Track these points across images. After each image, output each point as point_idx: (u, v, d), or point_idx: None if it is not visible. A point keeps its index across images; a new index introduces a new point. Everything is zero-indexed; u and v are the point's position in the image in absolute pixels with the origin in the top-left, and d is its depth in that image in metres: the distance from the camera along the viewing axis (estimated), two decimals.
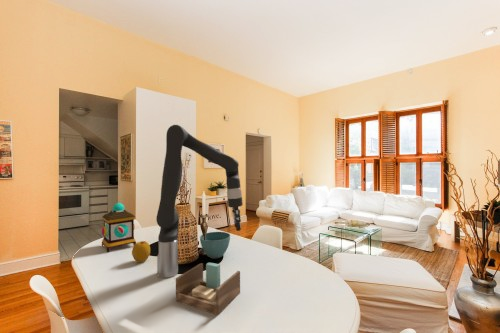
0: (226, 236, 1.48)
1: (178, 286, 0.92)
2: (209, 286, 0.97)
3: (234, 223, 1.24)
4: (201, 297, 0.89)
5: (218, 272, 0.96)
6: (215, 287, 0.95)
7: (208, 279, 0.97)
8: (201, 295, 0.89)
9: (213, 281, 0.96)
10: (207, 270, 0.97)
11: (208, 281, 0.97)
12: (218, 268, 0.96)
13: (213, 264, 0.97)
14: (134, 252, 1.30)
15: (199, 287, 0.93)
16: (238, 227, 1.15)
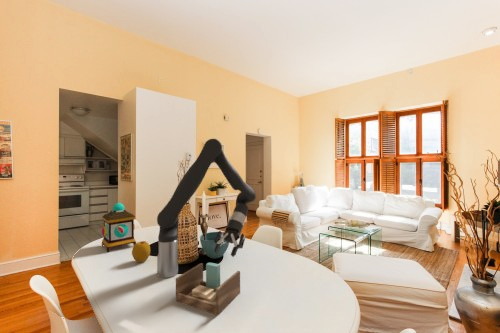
0: None
1: (178, 286, 0.92)
2: (209, 286, 0.97)
3: (217, 247, 1.07)
4: (201, 297, 0.89)
5: (218, 272, 0.96)
6: (215, 287, 0.95)
7: (208, 279, 0.97)
8: (201, 295, 0.89)
9: (213, 281, 0.96)
10: (207, 270, 0.97)
11: (208, 281, 0.97)
12: (218, 268, 0.96)
13: (213, 264, 0.97)
14: (134, 252, 1.30)
15: (199, 287, 0.93)
16: (235, 252, 1.04)
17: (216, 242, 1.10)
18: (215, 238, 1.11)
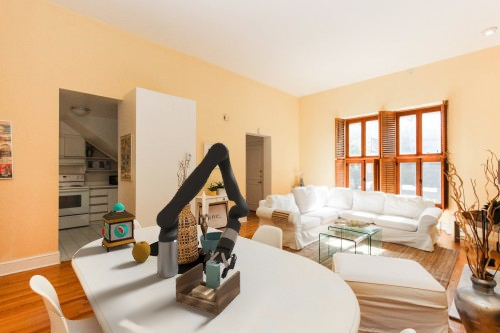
0: None
1: (178, 286, 0.92)
2: (209, 286, 0.97)
3: None
4: (201, 297, 0.89)
5: (218, 272, 0.96)
6: (215, 287, 0.95)
7: (208, 279, 0.97)
8: (201, 295, 0.89)
9: (213, 281, 0.96)
10: (207, 270, 0.97)
11: (208, 281, 0.97)
12: (218, 268, 0.96)
13: (213, 264, 0.97)
14: (134, 252, 1.30)
15: (199, 287, 0.93)
16: (225, 274, 0.96)
17: (206, 262, 1.03)
18: (205, 257, 1.04)
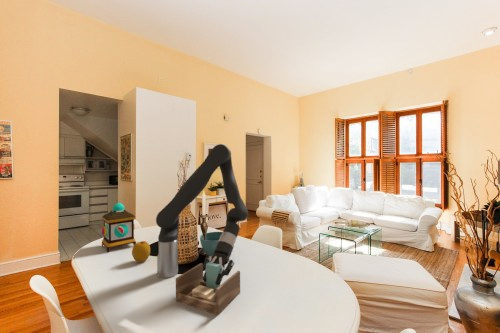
0: None
1: (178, 286, 0.92)
2: (209, 286, 0.97)
3: None
4: (201, 297, 0.89)
5: (218, 272, 0.96)
6: (215, 287, 0.95)
7: (208, 279, 0.97)
8: (201, 295, 0.89)
9: (213, 281, 0.96)
10: (207, 270, 0.97)
11: (208, 281, 0.97)
12: (218, 268, 0.96)
13: (213, 264, 0.97)
14: (134, 252, 1.30)
15: (199, 287, 0.93)
16: (220, 280, 0.95)
17: (205, 268, 1.00)
18: None
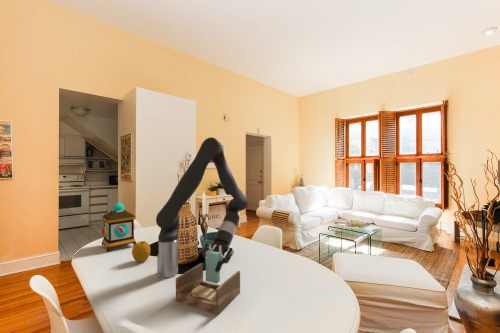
0: None
1: (178, 286, 0.92)
2: (208, 274, 0.97)
3: (205, 262, 0.98)
4: (201, 297, 0.89)
5: (218, 260, 0.96)
6: (214, 274, 0.95)
7: (208, 267, 0.97)
8: (201, 295, 0.89)
9: (213, 268, 0.96)
10: (207, 258, 0.97)
11: (207, 269, 0.97)
12: (218, 256, 0.96)
13: (213, 252, 0.97)
14: (134, 252, 1.30)
15: (199, 287, 0.93)
16: (219, 268, 0.95)
17: (205, 256, 1.00)
18: (203, 252, 1.01)
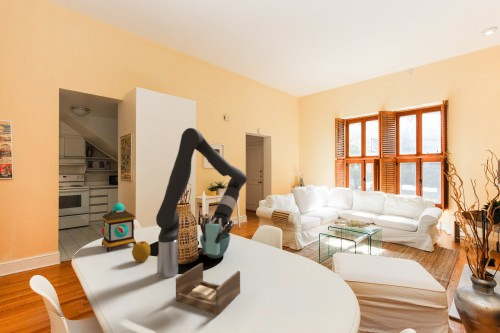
0: (226, 236, 1.48)
1: (178, 286, 0.92)
2: (209, 246, 0.97)
3: (205, 235, 0.98)
4: (201, 297, 0.89)
5: (218, 231, 0.96)
6: (215, 246, 0.95)
7: (208, 239, 0.97)
8: (201, 295, 0.89)
9: (213, 240, 0.96)
10: (207, 230, 0.97)
11: (207, 241, 0.97)
12: (218, 227, 0.96)
13: (213, 224, 0.97)
14: (134, 252, 1.30)
15: (199, 287, 0.93)
16: (219, 239, 0.95)
17: (205, 229, 1.00)
18: (203, 225, 1.01)
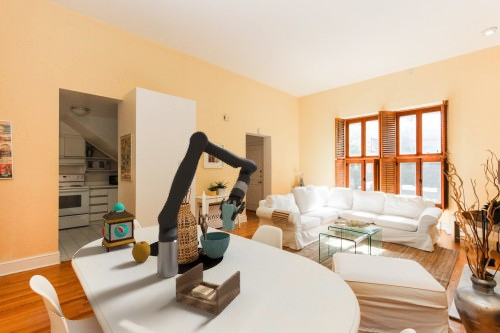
0: (226, 236, 1.48)
1: (178, 286, 0.92)
2: (225, 223, 1.12)
3: (222, 214, 1.13)
4: (201, 297, 0.89)
5: (233, 210, 1.11)
6: (230, 223, 1.11)
7: (224, 217, 1.12)
8: (201, 295, 0.89)
9: (229, 218, 1.11)
10: (223, 209, 1.13)
11: (224, 219, 1.12)
12: (233, 207, 1.11)
13: (228, 204, 1.13)
14: (134, 252, 1.30)
15: (199, 287, 0.93)
16: (234, 217, 1.10)
17: (221, 209, 1.16)
18: (220, 206, 1.17)
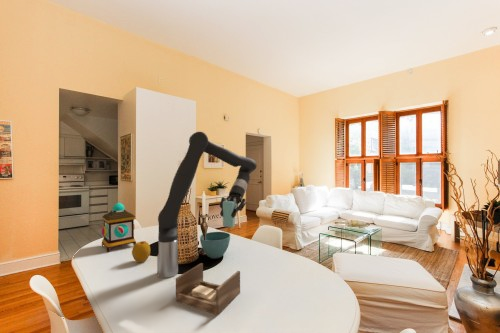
0: (226, 236, 1.48)
1: (178, 286, 0.92)
2: (225, 220, 1.14)
3: (222, 211, 1.15)
4: (201, 297, 0.89)
5: (233, 207, 1.14)
6: (231, 220, 1.13)
7: (224, 214, 1.15)
8: (201, 295, 0.89)
9: (229, 215, 1.13)
10: (224, 206, 1.15)
11: (224, 216, 1.15)
12: (233, 204, 1.14)
13: (229, 201, 1.15)
14: (134, 252, 1.30)
15: (199, 287, 0.93)
16: (235, 214, 1.13)
17: None
18: (220, 203, 1.19)
